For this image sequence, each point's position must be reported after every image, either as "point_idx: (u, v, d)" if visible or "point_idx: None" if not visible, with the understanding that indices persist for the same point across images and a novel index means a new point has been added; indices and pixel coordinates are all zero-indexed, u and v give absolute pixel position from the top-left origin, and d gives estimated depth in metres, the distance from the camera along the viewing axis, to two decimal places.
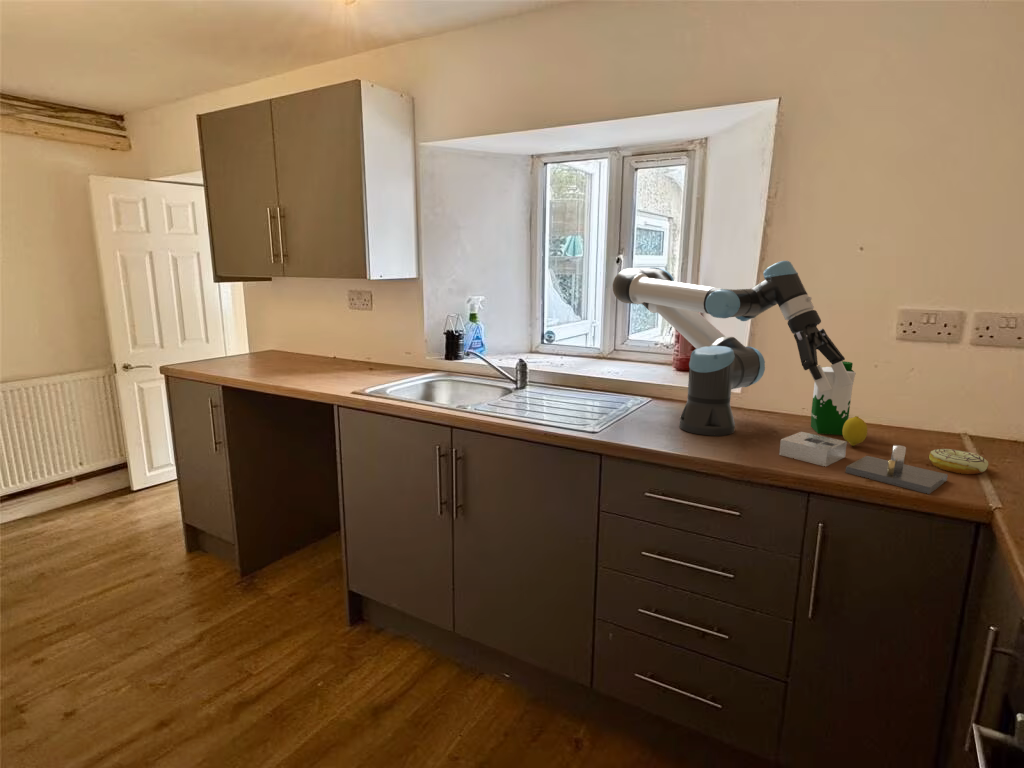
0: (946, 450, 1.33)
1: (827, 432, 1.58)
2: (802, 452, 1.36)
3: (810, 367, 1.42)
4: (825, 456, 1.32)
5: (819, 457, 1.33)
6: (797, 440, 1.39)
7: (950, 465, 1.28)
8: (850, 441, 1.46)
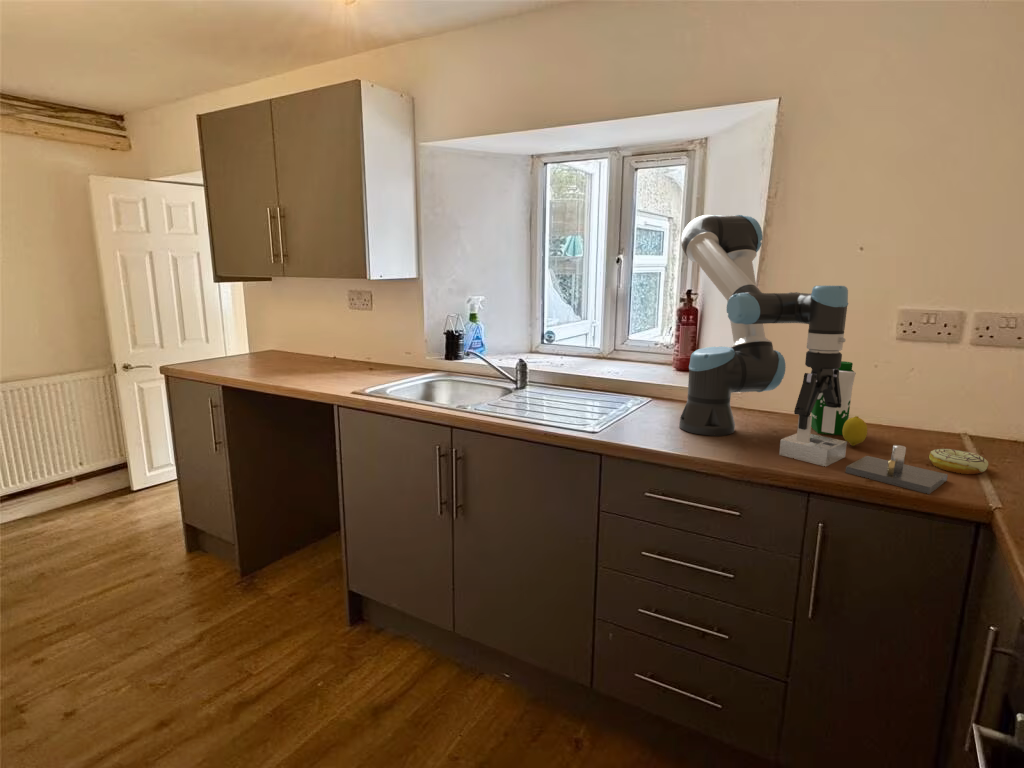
0: (946, 450, 1.33)
1: None
2: (802, 452, 1.36)
3: (801, 415, 1.32)
4: (825, 456, 1.32)
5: (819, 457, 1.33)
6: None
7: (950, 465, 1.28)
8: (850, 441, 1.46)
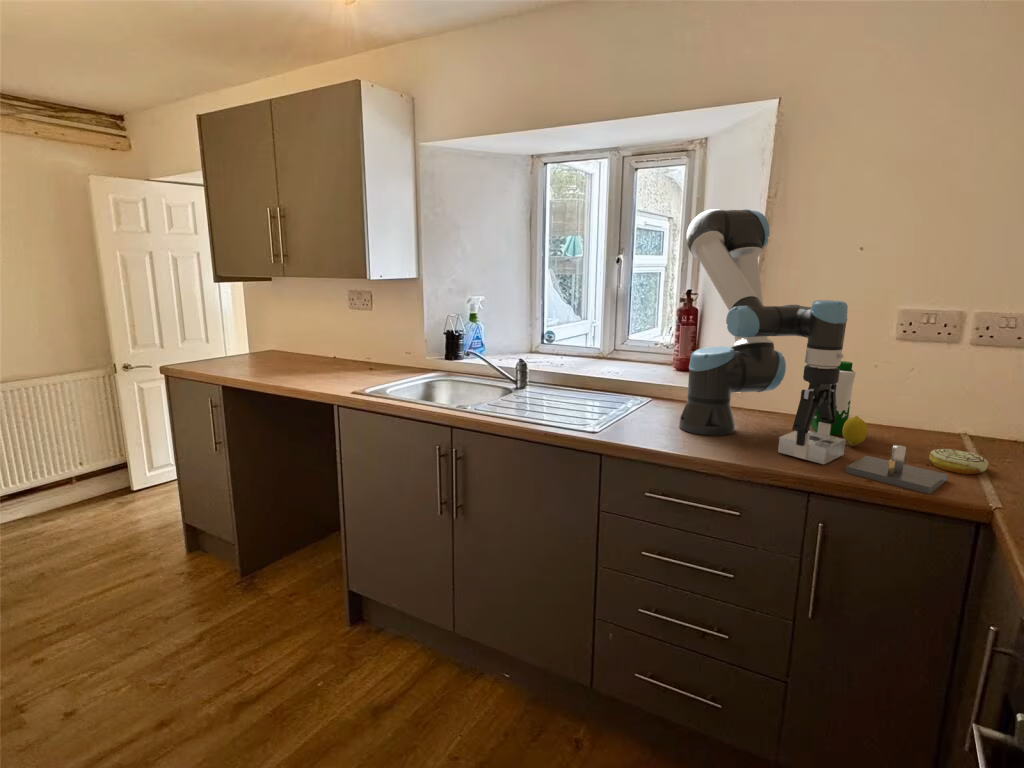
0: (946, 450, 1.33)
1: None
2: None
3: (799, 432, 1.34)
4: (824, 454, 1.32)
5: (818, 455, 1.33)
6: None
7: (950, 465, 1.28)
8: (850, 441, 1.46)
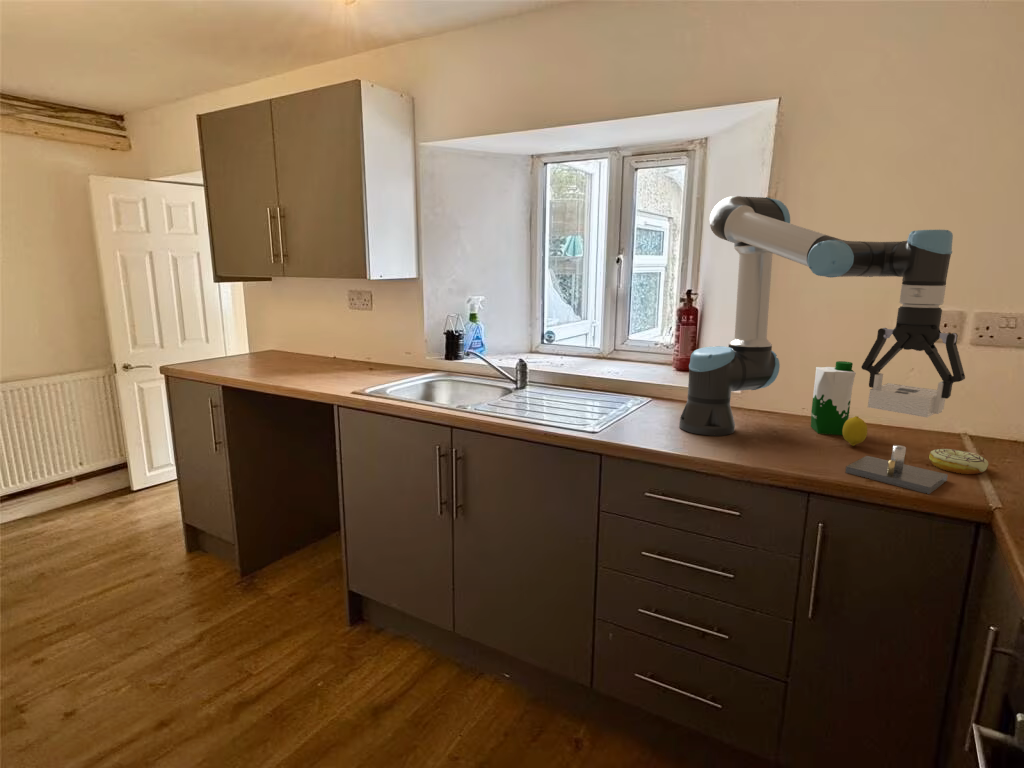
0: (946, 450, 1.33)
1: (827, 432, 1.58)
2: None
3: None
4: None
5: None
6: (897, 386, 1.26)
7: (950, 465, 1.28)
8: (850, 441, 1.46)
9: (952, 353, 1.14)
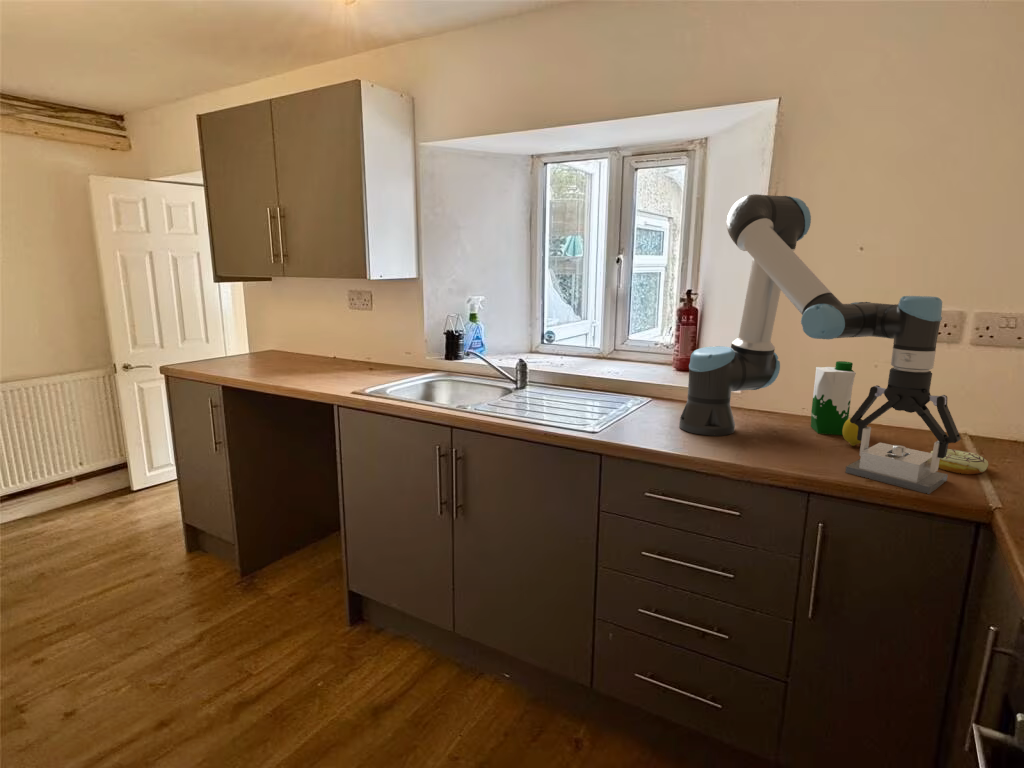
0: None
1: (827, 432, 1.58)
2: None
3: None
4: None
5: None
6: (888, 447, 1.29)
7: (950, 465, 1.28)
8: (850, 441, 1.46)
9: (944, 415, 1.16)
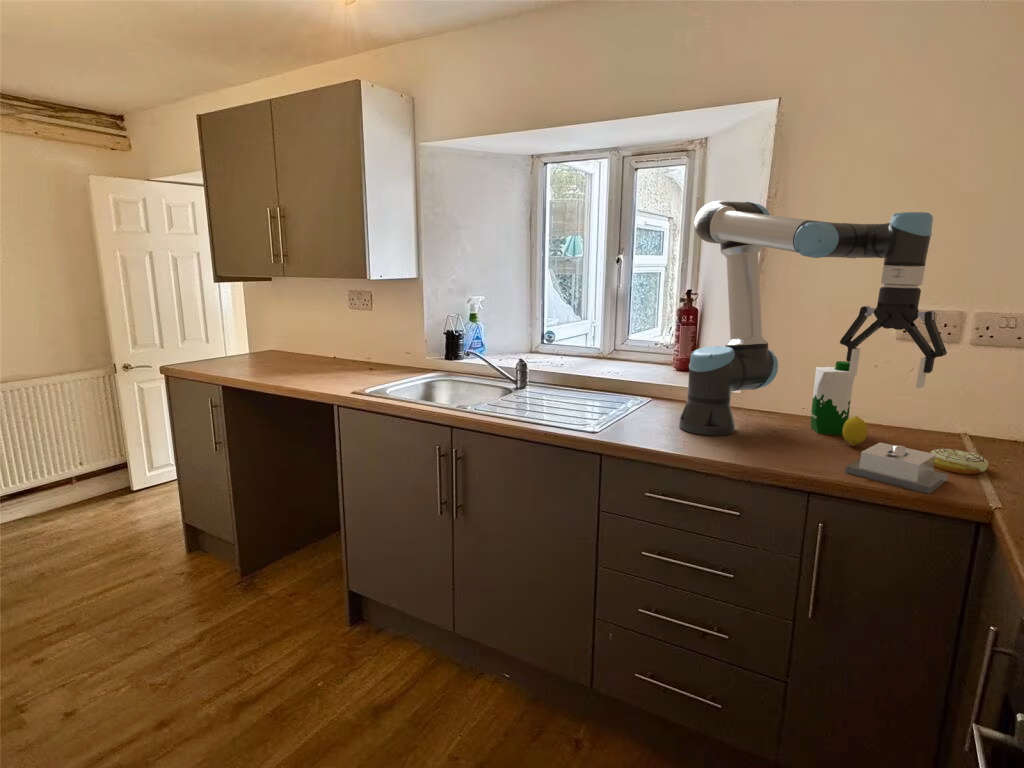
0: (946, 450, 1.33)
1: (827, 432, 1.58)
2: None
3: None
4: None
5: None
6: (888, 447, 1.29)
7: (950, 465, 1.28)
8: (850, 441, 1.46)
9: (931, 330, 1.18)
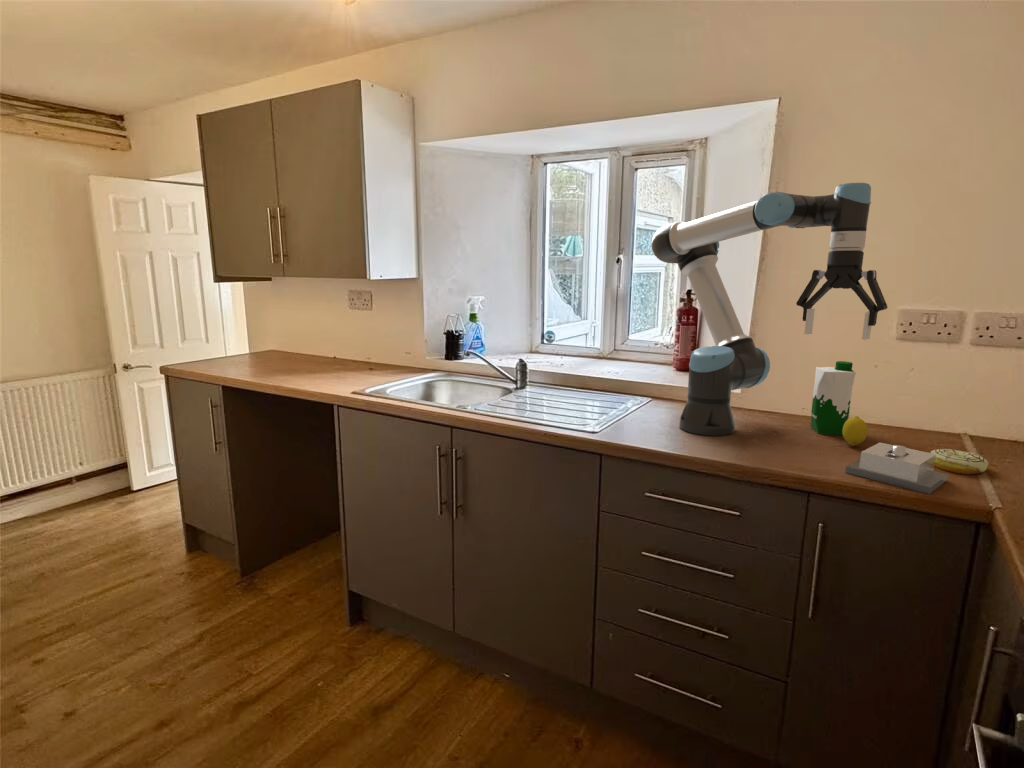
0: (946, 450, 1.33)
1: (827, 432, 1.58)
2: None
3: None
4: None
5: None
6: (888, 447, 1.29)
7: (950, 465, 1.28)
8: (850, 441, 1.46)
9: (873, 286, 1.33)
